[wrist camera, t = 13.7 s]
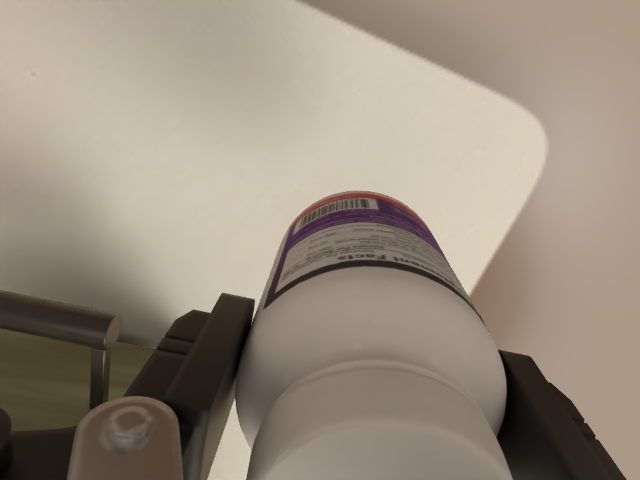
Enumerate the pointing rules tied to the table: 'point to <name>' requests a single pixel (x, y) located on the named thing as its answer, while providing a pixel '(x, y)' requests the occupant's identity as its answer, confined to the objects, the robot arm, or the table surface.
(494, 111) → the table surface
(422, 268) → the pill bottle
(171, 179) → the table surface
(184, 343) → the robot arm
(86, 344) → the drawer
